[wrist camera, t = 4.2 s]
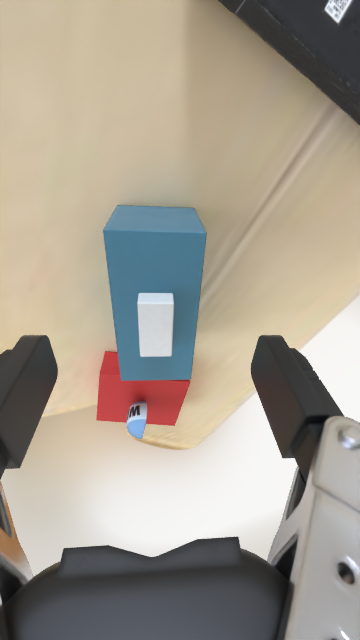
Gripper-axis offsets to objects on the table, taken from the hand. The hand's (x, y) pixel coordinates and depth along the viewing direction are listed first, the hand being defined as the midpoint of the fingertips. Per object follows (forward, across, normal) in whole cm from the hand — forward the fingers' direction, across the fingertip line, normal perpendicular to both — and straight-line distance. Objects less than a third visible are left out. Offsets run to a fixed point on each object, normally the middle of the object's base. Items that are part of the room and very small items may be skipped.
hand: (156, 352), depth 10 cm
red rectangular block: (+11, +2, +14) cm, 18 cm away
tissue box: (+11, 0, +2) cm, 11 cm away
